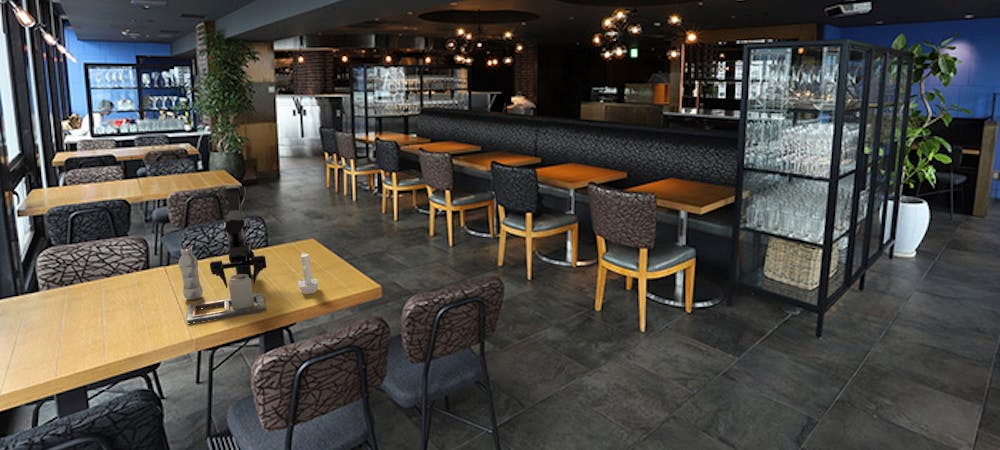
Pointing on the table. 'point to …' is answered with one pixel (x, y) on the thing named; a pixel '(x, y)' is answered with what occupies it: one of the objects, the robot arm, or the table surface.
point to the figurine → (307, 277)
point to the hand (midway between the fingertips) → (240, 285)
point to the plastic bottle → (190, 274)
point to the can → (241, 291)
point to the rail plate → (223, 314)
